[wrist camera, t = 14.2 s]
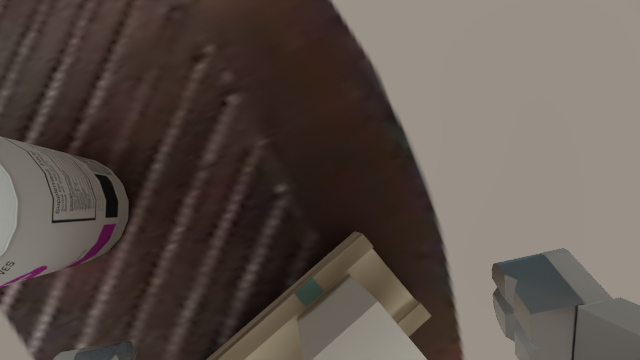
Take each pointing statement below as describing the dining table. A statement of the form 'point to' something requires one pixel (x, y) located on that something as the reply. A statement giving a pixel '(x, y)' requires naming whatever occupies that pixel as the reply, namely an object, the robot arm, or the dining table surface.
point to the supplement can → (55, 210)
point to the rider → (352, 328)
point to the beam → (281, 315)
